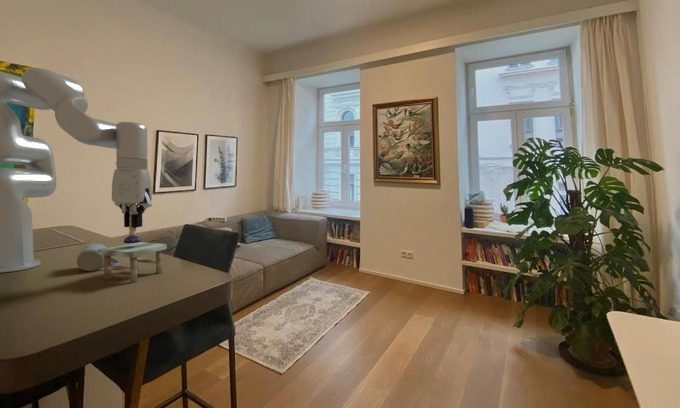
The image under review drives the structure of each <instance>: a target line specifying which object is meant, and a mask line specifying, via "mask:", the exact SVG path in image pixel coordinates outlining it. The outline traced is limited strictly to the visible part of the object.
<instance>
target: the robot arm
mask: <svg viewBox="0 0 680 408" xmlns="http://www.w3.org/2000/svg"><path fill="white" fill-rule="evenodd" d="M8 104H14V105H17V106H21V107H27V108H31V109H36V110H43V111H49V110H52V111H54V117H55V121H56V123H57V125H58V126H59V127H60V129H62V130H63V131H64V132H65V133H66V134H67V135H69V136H70V137H72V138H73V139H74V140H76V141H78V142H79V143H82V144H84V145H87V146H95V147H101V148H102V147H103V148H107V149H113V150H115V152H116V153H115V154H116V155H115V156H116V161H115V165H116V169H114V172H113V176H112V182H111V200H112V202H113V203H114V206H116V207H118V208H120V210H121V213H122V214H123V227H124V228H129V227H130V225H129V222H130V220H129V217H130V214H129V212H130V204H133V214H131V227H132V228H136V229H137V228H142V227H143V214H145V211H146V210H147V209H149V208H151V207H152V206H153V204H152V197H153V191H152V190H153V189H152V188H153V187H152V180H151V175H150V171H149V169H148V168H149V167H148V129H147V127H146V126H145V125H143V124H142V123H139V122H138V123H137V122H132V121H120V122H118V123H114V122H110V121H107V120H103V119H102V120H101V119H98V118H93V117H91V116H89V115H88V114H86V113H87V110H88V108H89V107H88V106H89V104H88V101H87V99H86V98H85V90H84V88H83V86H82V85H81V84H80V83H79V82H78V81H76V80H74V79H73V78H71V77H67V76H65V75H62V74H59V73H57V72H53V71H51V70H48V69H44V68H39V67H33V68H28V69H26V70H24V71H23V72H22V75H21V76H18V75H14V74H11V73H9V72H5V71H0V164H7V165H21V166H22V165H23V166H25V168H19V167H18V168H17V167H0V273H9V272H10V273H11V272H18V271H23V270H27V269H28V270H29V269H31V268H32V269H33V268H35V267H38V266H40V265H41V264H42V263H41V260H40V259H35V258H34V235H33V234H34V232H33V213H32V209H31V207H30V206H29V205H28V204H27V203H26V200H24V199H28V198H29V199H31V198H33V199H34V198H46V197H49V196H52V195H53V194H54V192H55V191H56V189H57V175H56V167H55V166H56V165H55V159H54V153H53V150H52V148H51V146H50V145H49V143H48V142H47V141H45V140H44V139H42V138H39V137H34V136H29V135H28V136H27V135H24V134H23V132H22V128H21V120H20V118H19V117H18V115H17V113H16V112H15V110H13V109H12V108H11V107H10V106H9V105H8Z"/></svg>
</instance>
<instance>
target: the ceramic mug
mask: <svg viewBox="0 0 680 408" xmlns="http://www.w3.org/2000/svg"><path fill="white" fill-rule="evenodd" d="M102 248H107V246H105V245H104V244H102V243H98V242H97V243H90V244H88V245H86V246H84V247H83V248H82V250H81V251H80V253H78V255H77V258H76V264H77V266H78V268H79V269H81V270H82V271H85V272H94V271H97V270H100V269H101V268H104V255H98V249H102ZM120 264H121V261H120V260H119V259H117V258H115V257H113V256H111V265H113V266H120Z"/></svg>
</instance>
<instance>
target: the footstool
mask: <svg viewBox="0 0 680 408" xmlns="http://www.w3.org/2000/svg"><path fill="white" fill-rule="evenodd" d="M106 247H107V246H106ZM167 249H168V245H167V243H157V242H156V243H155V242H146V241H145V242H143V241H141V242H138V243H123V244H117V245H116V244H115V245H113V246H111V245H110V246H108V247H107V248H102V249H98V255H104V266H103V270H104V271H103V273H104V275H103V278H104V280H105V281H108V280H109V281H110V280H112V271H118V272H127V273H128V272H129V274H130V275H129V279H130V283H131V284H134V283H135V284H136V283H137V282H138V271H139V263H146V264H153V265H155V273H156V274H162V273H163V252H162V251H164V250H167ZM153 253H155V259H152V258H142V257H141V256H144V255H148V254H153ZM111 257H119V258H120V257H121V258H129V266H123V265H119V266H113V265H111V263H112V262H111Z"/></svg>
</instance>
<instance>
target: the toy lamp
mask: <svg viewBox="0 0 680 408" xmlns="http://www.w3.org/2000/svg"><path fill="white" fill-rule="evenodd" d="M129 214H130V217H129V220H130V222H129V225H130V227H128V231H129V232H128V236H126V237H125V238H124V240H123V244H126V243H138V242H142V240H141V238H140V237H139V236H138V235H137V232H136V230H137V227H136V228H132V227H131V214H133V204H130V212H129Z"/></svg>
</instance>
